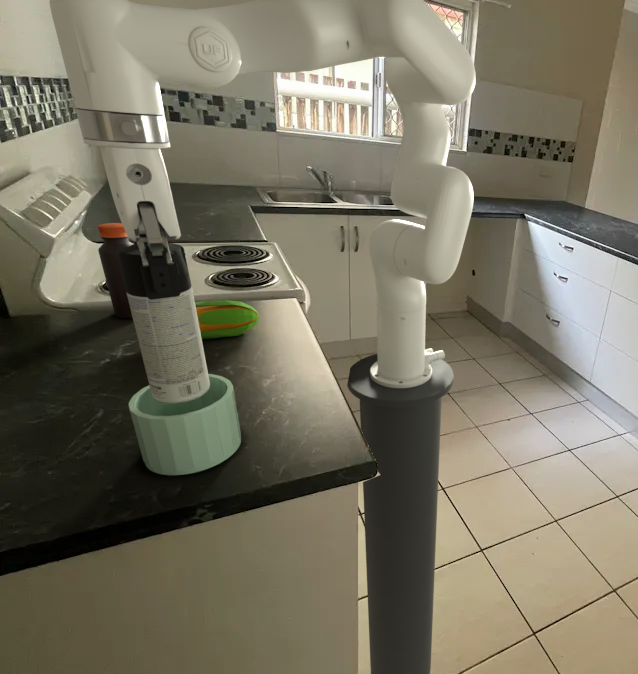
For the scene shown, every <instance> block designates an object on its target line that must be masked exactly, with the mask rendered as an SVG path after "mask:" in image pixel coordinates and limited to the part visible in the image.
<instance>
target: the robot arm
mask: <svg viewBox="0 0 638 674" xmlns="http://www.w3.org/2000/svg"><path fill="white" fill-rule="evenodd" d="M49 8H50V13H51V17H52V21H53V24H54V29H55V34H56V37H57V41H58V45H59V48H60V52H61V56H62V60H63V64H64V68H65V72H66V77H67V80H68V86H69V89H70V93H71V97H72V101H73V104H74V108H75V112H76V116H77V120H78V124H79V128H80V132H81V136H82V141H83V144H86V145H90V146H96V147H99V150H100V154H101V157H102V158H101V159H102V162H103V165H104V170H105V172H106V173H105V174H106V178H107V181H108V185H109V189H110V192H111V196H112V200H113V202H114V205H115V208H116V212H117V214H118V217H119V220H120V223H122V224H123V227H124V229H125V231H126V233H127V235H128V237H129V238H128V239H129V240H131V241H133V242H132V243H133V244H138V248H139V252H140V256H141V260H142V264H143V265H140V268H141V272H142V277H143V281H144V285H145V290H146V294H147V297H148V299H151V300H153V299H161V298H170V297H177V296H179V295H180V289H179V284H178V279H177V274H176V269H175V264H174V263H173V262H172V258H171V254H170V250H169V246H168V243H169V242H168V238H167V235H168V236H169V237H172V238H173V239H174V240H179V239H180V238H181V237H182V233H181V228H180V225H179V220H178V215H177V212H176V207H175V203H174V198H173V192H172V189H171V185H170V184H171V183H170V179H169V175H168V171H167V167H166V164H165V161H164V157H163V153H162V150H161V149H169V148H171V143H170V138H169V131H168V125H167V121H166V116H165V109H164V105H163V104H164V103H163V99H162V94H161V88H160V83H161V84H164V85H167V86H174V87H188V88H197V89H216V88H220V87H223V86H226V85H227V84H229V83H231V82H232V81H233V80H234V79H235V78H236V77H237V75H243V74H254V73H255V74H256V73H280V74H281V73H282V74H283V73H285V74H288V73H290V74H291V73H301V72H302V73H303V72H311V71H316V70H317V71H318V70H323V69H327V68H332V67H337V66H340V65H346V64H352V63H356V62H363V61H368V60H372V59H384V58H385V61H384V78H385V81H386V84H387V87H388V89H389V91H390V92H391V94H392V96H393V98H394V100H395V102H396V104H397V106H398V109H399V112H400V114H401V119H402V120H401V121H402V134H401V140H400V145H399V150H398V154H397V159H396V163H395V167H394V171H393V176H392V181H391V185H390V199H391V203H392V204H393V205H394V207H395V208H396V209H398V210H399V211H400V212H403V213H405V214H408V215H411V216H414V217H419V218H422V219H426V220H425V225H422V224H418V223H414V222H411V221H407V220H402V219H388V220H385V221H382V222H380V223H379V224H378V225H377V226H376V227H375V228H374V229H373V231H372V233H371V234H370V239H369V256H370V260H371V264H372V269H373V274H374V281H375V297H376V298H375V303H376V304H375V306H376V307H375V309H376V311H375V312H376V354H377V358H378V361H377V362H376V363H374V364H373V365H372V366H371V368H370V377H371V379H372V380H373V381H374V382H376V383H377V384H379V385H382V386H385V387H389V388H411V387H415V386H419V385H421V384H423V383H425V382H427V381H428V380H429V379H430V378H431V375H432V368H431V366H430V364H431V363H432V362H433V361H435V360H436V361H437V360H440V359H442V360H444V359H445V358H446V354H445V351H444V350H443V349H441V350H437V351H434V349H433V348H426V326H427V325H426V324H427V323H426V321H427V320H426V318H427V317H426V316H427V291H426V290H427V289H426V285H425V283H426V284H429V285H440V284H443V283H446V282H447V281H448V280H450V279H451V277H452V276H453V275H454V274H455V272H456V270H457V268H458V265H459V263H460V262H459V261H460V258H461V255H462V252H463V247H464V243H465V240H466V236H467V232H468V229H469V225H470V221H471V217H472V213H473V208H474V200H475V198H474V197H475V196H474V187H473V184H472V182H471V180H470V178H469V176H468V175H467V174H466V173H465V172H464V171H463V170H461V169H459V168H457V167H454V166H450V165H447V161H448V155H449V152H450V146H451V131H450V125H449V122H448V119H447V117H446V114H445V112H444V109H443V107H442V105H443V106H457V105H460V104H462V103H464V102H466V101H468V99H469V98H470V97H471V96H472V94H473V92H474V90H475V87H476V81H477V73H476V68H475V64H474V61H473V59H472V56H471V54H470V52H469V51H468V49H467V47H465V46H464V45H463V43H462V41H461V40H460V39H459V38H458V37H457V36H456V35H455V34H454V33H453V32H452V30H451V29H450V28H449V27H448V25H446V23H445V22H444V21H443V19H441V17H440V16H439V15H438V14H437V13H436V12H435V11H434V10H433V8H432V7H431V6H430V5H429V4H428V3H427V2H426V1H425V0H251V1H247V2H243V3H236V4H229V5H221V6H214V7H204V8H195V9H194V8H188V7H174V6H173V7H172V6H162V5H153V4H146V3H145V4H144V3H138V2H133V1H131V0H49ZM144 245H148V246H146V247H144ZM145 248H146V249H145ZM146 254H147V255H146Z"/></svg>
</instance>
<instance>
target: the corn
mask: <svg viewBox="0 0 638 674" xmlns="http://www.w3.org/2000/svg"><path fill="white" fill-rule="evenodd" d="M195 306H196V312H197V317H198V322H199V328H200V333H201V338H202V340H210V339H217V338H218V339H220V338H230V337H236V336H237V337H238V336H241V335H243V334H245V333H247V332H249V331H251V330H252V329H253V328H254V327H255V326H257V324H258V322H259V320H260V319H259V318H260V316H259V312H258V311H257V310H256V309H255V308H254V307H253V306H251V305H249V304H247V303H245V302H242V301H240V300H239V301H237V300H227V299H222V300H221V299H219V300H211V301H198V302H197V301H196V302H195Z"/></svg>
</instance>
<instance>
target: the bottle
mask: <svg viewBox="0 0 638 674" xmlns="http://www.w3.org/2000/svg"><path fill="white" fill-rule="evenodd" d="M97 229H98V232H99V235H100V238H101V240H103V243H102V244H101V245H100V247H98V255H99V258H100V263H101V267H102V271H103V274H104V277H105V282H106V286H107V289H108V293H109V298H110V300H111V305H112V308H113V312H114V316H115V317H117V318H120V319H133V317H132V313H131V309H130V305H129V301H128V297H127V291H126V288H125V283H124V279H123V275H122V270H121V266H120V262H119V257H118V252H119V251H120V250H122V249H123V248H124V247H126V246H131V245H133V244H134V243H133V242H131V241H130V239H129V237H128V235H127V233H126V231H125V229H124V227H123V224H122V222H107V223H101V224H97Z"/></svg>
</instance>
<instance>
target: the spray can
mask: <svg viewBox="0 0 638 674" xmlns="http://www.w3.org/2000/svg"><path fill="white" fill-rule="evenodd" d="M132 244H133V245H131V246H126V247H124V248H123V249H122V250H120V251H119V252H118V257H119V262H120V266H121V270H122V275H123V279H124V283H125V288H126V291H127V297H128V301H129V305H130V309H131V313H132V317H133V318H132V321H133V325H134V329H135V333H136V337H137V341H138V345H139V349H140V353H141V357H142V361H143V365H144V369H145V373H146V376H147V381H148V385H150V390H151V393H152V396H153V398H154V399H155V400H156V401H157V402H160V403H165V404H174V403H184V402H188V401H192V400H195V399H197V398H199V397H200V396H202V395H204V394H205V393H206V392H207V391H208V390H209V386H210V381H209V376H208V374H209V372H208V371H209V370H208V365H207V362H206V355H205V351H204V349H205V348H204V345H203V339H202V338H201V333H200V328H199V322H198V317H197V312H196V307H197V306H195V296H194V290H193V287H192V282H191V281H192V280H191V277H190V271H189V267H188V262H187V256H186V252H185V248H184V246H183V245H181V244H177V243H174V242H168V246H169V250H170V254H171V258H172V262H173V263H174V264H175V269H176V274H177V279H178V284H179V289H180V295H179V296H177V297H170V298H161V299H153V300H151V299H148V297H147V294H146V290H145V285H144V281H143V277H142V272H141V268H140V265H143V264H142V260H141V256H140V252H139V248H138V244H134V243H132ZM146 246H148V245H144V247H146ZM145 249H146V248H145ZM146 255H147V254H146Z"/></svg>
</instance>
